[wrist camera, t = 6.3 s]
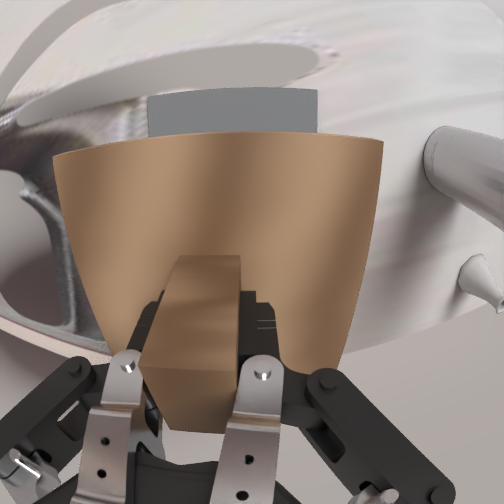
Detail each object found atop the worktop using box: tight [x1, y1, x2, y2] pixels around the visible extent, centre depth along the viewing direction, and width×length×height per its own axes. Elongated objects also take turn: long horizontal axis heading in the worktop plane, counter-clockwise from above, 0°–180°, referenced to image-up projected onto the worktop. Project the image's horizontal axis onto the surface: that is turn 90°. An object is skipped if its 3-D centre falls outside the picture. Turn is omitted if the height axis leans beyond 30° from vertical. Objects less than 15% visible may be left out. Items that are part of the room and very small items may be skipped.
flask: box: [458, 254, 504, 314], centre depth 32 cm, size 7×7×10 cm
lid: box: [53, 131, 384, 434], centre depth 10 cm, size 14×14×7 cm
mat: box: [147, 87, 317, 138], centre depth 29 cm, size 18×18×1 cm
